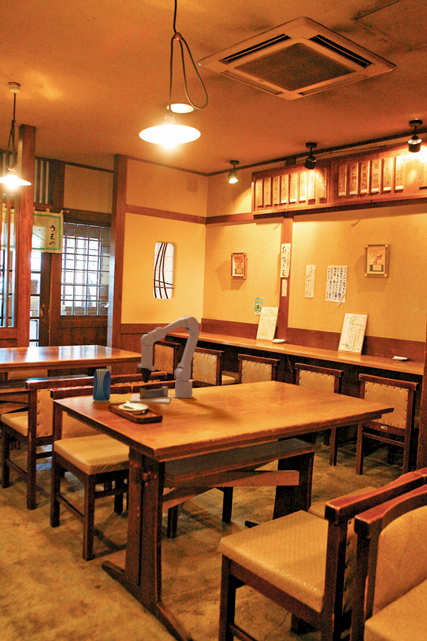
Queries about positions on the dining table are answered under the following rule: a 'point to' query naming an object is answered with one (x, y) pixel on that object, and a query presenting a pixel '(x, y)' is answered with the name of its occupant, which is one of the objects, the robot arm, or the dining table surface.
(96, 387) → the beer can
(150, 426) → the dining table surface
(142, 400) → the board
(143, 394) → the lever
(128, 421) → the dining table surface
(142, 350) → the robot arm
